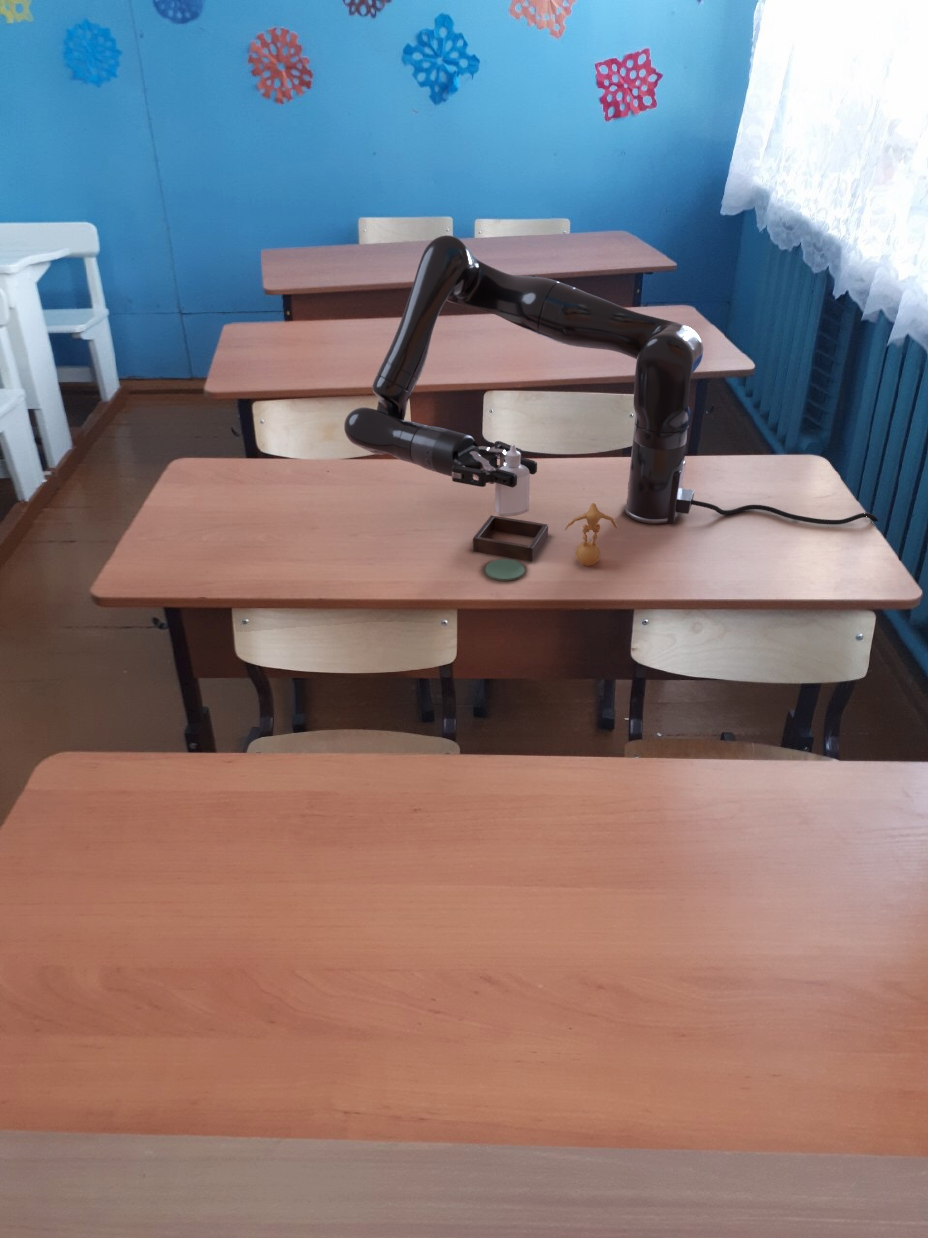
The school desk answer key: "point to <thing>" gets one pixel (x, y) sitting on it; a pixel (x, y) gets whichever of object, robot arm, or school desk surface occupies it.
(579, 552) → the figurine
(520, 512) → the eye dropper bottle
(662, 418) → the robot arm
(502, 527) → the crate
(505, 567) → the coaster
